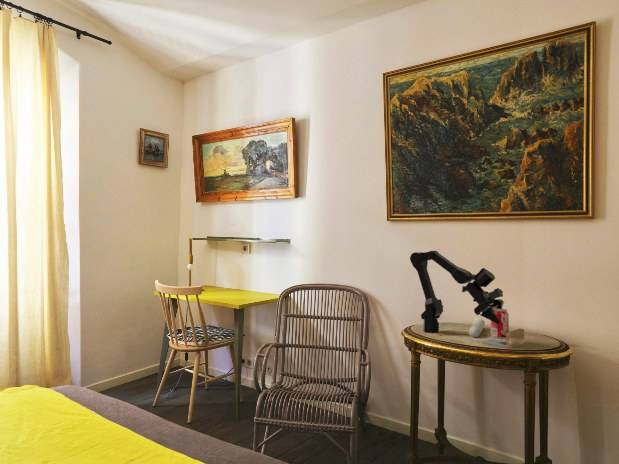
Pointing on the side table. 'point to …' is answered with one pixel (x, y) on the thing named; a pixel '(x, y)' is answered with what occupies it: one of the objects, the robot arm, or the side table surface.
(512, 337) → the backstop
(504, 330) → the soda can
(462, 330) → the side table surface
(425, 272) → the robot arm
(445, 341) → the side table surface
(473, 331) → the tube
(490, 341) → the mat
